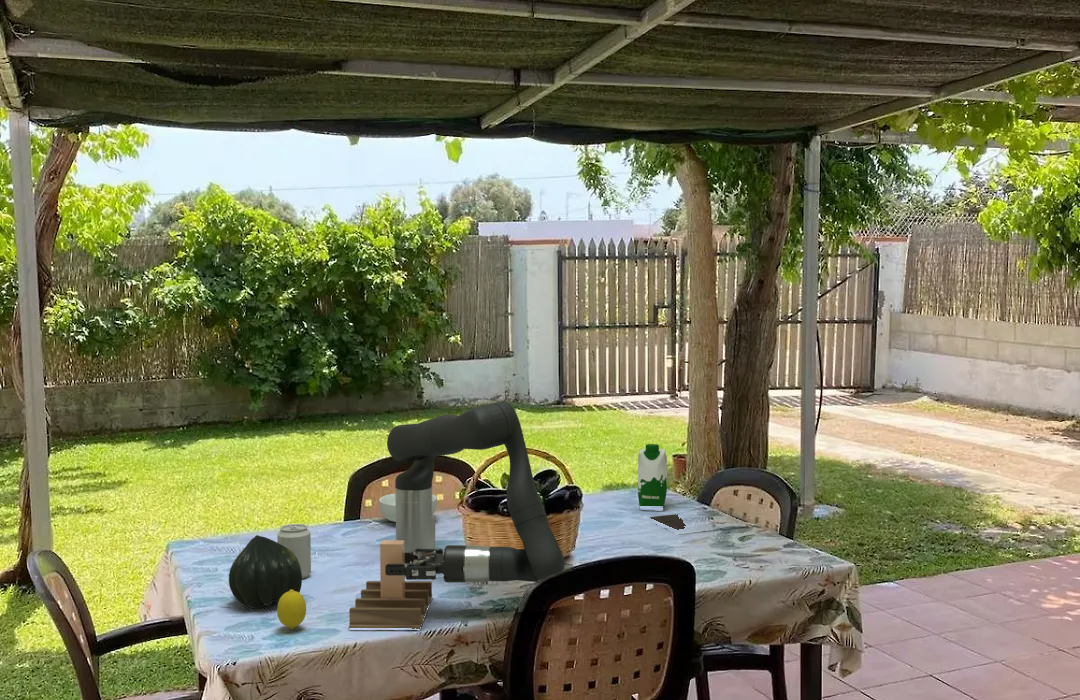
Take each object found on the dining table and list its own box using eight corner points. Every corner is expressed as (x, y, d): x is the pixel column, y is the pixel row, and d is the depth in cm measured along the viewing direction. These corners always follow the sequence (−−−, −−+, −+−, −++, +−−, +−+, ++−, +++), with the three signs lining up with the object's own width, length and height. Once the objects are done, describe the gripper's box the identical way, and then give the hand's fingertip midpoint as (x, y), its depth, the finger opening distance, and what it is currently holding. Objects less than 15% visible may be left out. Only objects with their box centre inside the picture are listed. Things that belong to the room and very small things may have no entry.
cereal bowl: (380, 515, 285) (380, 492, 285) (437, 514, 287) (436, 491, 287) (377, 530, 268) (377, 505, 268) (437, 528, 270) (437, 503, 270)
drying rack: (368, 598, 209) (367, 580, 209) (432, 598, 209) (432, 580, 209) (348, 630, 189) (348, 610, 189) (419, 631, 189) (419, 611, 189)
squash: (303, 588, 198) (298, 523, 207) (227, 597, 194) (225, 531, 203) (303, 616, 209) (298, 553, 218) (231, 625, 205) (229, 561, 214)
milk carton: (636, 511, 291) (637, 445, 290) (639, 504, 300) (639, 441, 299) (665, 512, 289) (666, 446, 288) (667, 506, 298) (668, 442, 297)
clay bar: (383, 606, 201) (383, 540, 200) (405, 606, 200) (404, 540, 200) (380, 611, 198) (380, 544, 197) (402, 611, 197) (401, 544, 197)
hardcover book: (748, 529, 272) (748, 521, 272) (677, 537, 263) (677, 529, 263) (716, 517, 286) (717, 509, 286) (649, 524, 278) (649, 516, 277)
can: (281, 583, 219) (281, 531, 219) (274, 574, 226) (274, 524, 225) (314, 578, 223) (313, 527, 222) (306, 570, 230) (305, 521, 229)
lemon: (280, 625, 192) (279, 585, 192) (308, 624, 193) (307, 585, 192) (275, 634, 187) (274, 594, 186) (304, 634, 187) (303, 593, 187)
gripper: (470, 537, 205) (394, 536, 205) (464, 555, 191) (382, 555, 191) (470, 571, 205) (395, 571, 206) (464, 592, 191) (383, 592, 191)
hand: (389, 563), depth 198 cm, fingers open, 8 cm apart
